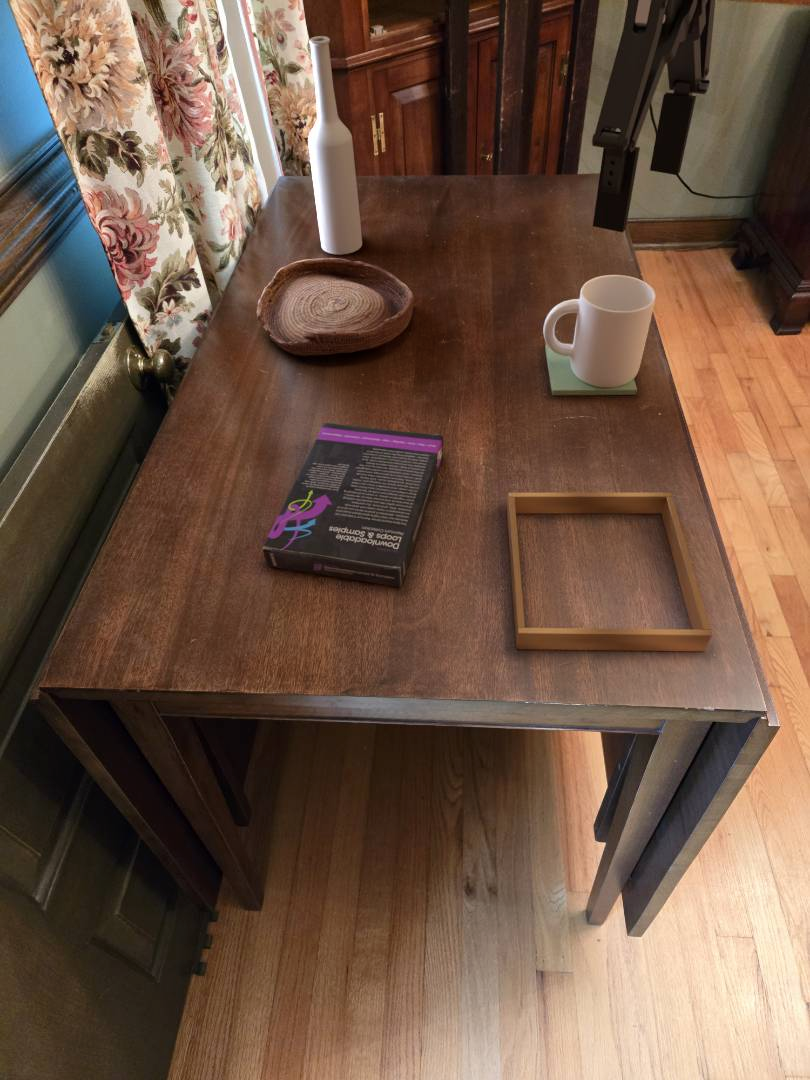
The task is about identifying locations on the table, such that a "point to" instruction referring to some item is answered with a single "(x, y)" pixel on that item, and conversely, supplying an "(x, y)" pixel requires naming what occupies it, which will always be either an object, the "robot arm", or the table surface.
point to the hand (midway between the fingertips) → (638, 198)
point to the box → (357, 504)
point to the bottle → (332, 163)
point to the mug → (605, 329)
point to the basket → (333, 307)
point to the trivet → (577, 379)
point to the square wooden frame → (609, 637)
